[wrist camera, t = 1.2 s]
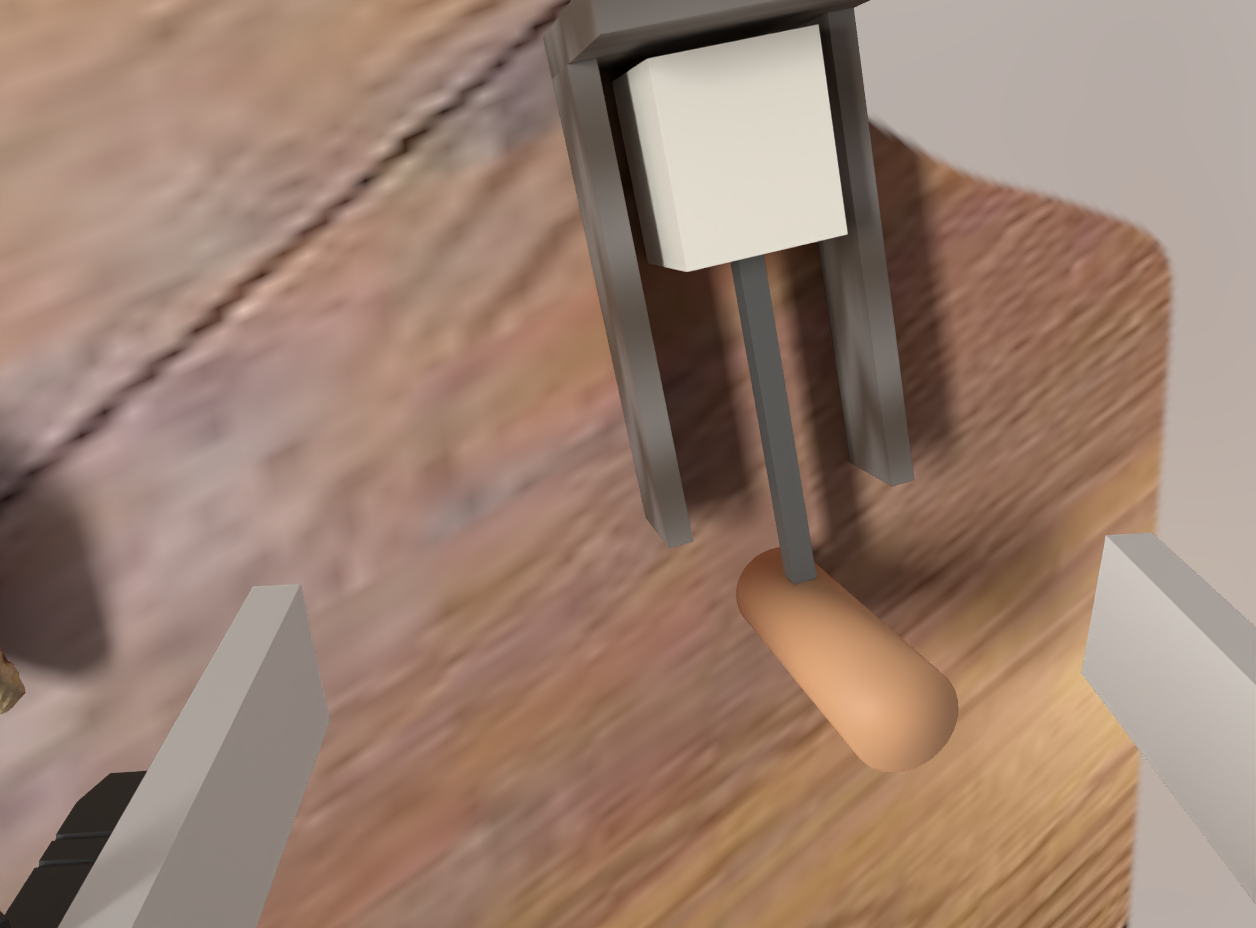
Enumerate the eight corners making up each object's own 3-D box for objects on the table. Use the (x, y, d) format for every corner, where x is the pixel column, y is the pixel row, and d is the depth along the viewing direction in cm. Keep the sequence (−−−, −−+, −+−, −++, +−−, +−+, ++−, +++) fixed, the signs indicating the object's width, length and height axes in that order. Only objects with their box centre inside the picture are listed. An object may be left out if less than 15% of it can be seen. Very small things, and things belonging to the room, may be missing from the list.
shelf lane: (871, 457, 44) (997, 524, 35) (646, 517, 42) (713, 606, 33) (804, -14, 38) (933, -87, 29) (543, 37, 37) (589, -23, 27)
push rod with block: (846, 611, 46) (990, 743, 34) (723, 647, 45) (830, 795, 33) (758, 51, 39) (902, -15, 27) (611, 81, 38) (697, 25, 27)
